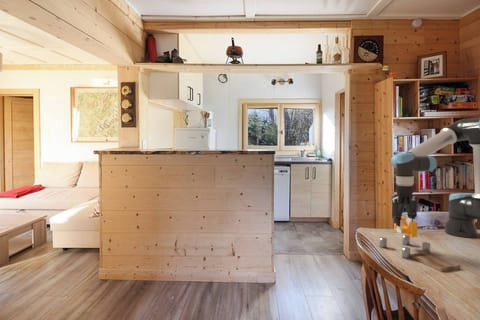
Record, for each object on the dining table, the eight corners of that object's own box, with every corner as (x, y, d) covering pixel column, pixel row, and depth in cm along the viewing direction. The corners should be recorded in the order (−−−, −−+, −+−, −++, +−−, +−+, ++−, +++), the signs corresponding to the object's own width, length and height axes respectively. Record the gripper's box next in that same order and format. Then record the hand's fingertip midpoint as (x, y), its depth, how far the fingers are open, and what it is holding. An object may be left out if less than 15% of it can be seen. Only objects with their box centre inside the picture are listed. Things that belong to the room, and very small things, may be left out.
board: (427, 254, 141) (427, 251, 141) (460, 268, 126) (460, 265, 126) (409, 257, 138) (409, 254, 138) (441, 271, 123) (441, 268, 123)
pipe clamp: (394, 229, 153) (394, 216, 153) (402, 229, 153) (402, 216, 153) (407, 237, 141) (408, 223, 141) (417, 236, 141) (417, 223, 141)
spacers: (406, 243, 158) (406, 234, 157) (436, 255, 140) (436, 245, 140) (378, 246, 153) (378, 237, 153) (405, 259, 136) (406, 249, 136)
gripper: (413, 182, 152) (413, 227, 154) (383, 184, 148) (383, 231, 149) (426, 184, 145) (425, 232, 147) (395, 187, 140) (394, 236, 142)
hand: (404, 231), depth 148 cm, fingers closed on pipe clamp, 5 cm apart
